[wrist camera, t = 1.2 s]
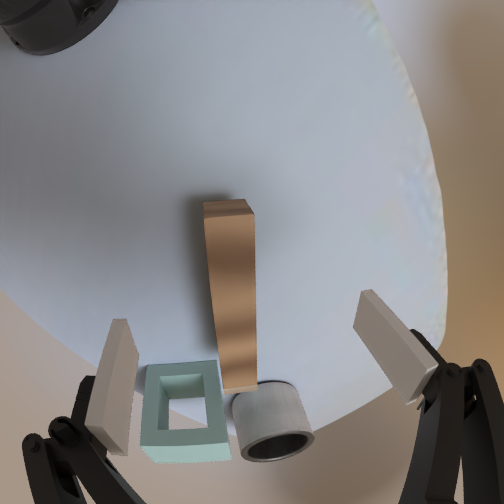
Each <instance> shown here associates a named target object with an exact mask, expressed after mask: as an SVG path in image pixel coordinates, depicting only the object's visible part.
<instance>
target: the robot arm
mask: <svg viewBox="0 0 504 504" xmlns="http://www.w3.org/2000/svg"><path fill="white" fill-rule="evenodd" d="M117 2H118V0H0V25H1V26H2V28H3V29H4V31H5V32H6V33H7V35H8V36H9V37H10V38H11V40H12V42H13V43H14V45H15V46H16V47H18V48H19V49H21V50H23V51H26V52H29V53H32V54H36V55H46V54H52V53H55V52H58V51H61V50H63V49H65V48H68V47H69V46H71V45H73V44H75V43H77V42H78V41H80V40H81V39H83V38H84V37H85V36H87V35H88V34H89V33H90V32H92V31H93V30H94V29H95V28H96V27H97V26H98V25H99V24H100V23H101V22H102V21H103V20H104V19H105V18H106V17H107V16H108V15H109V13H110V12H111V11H112V9H113V8H114V7H115V5H116V3H117ZM353 328H354V329H355V331H356V332H357V334H358V335H359V337H360V338H361V339H362V341H363V342H364V344H365V345H366V347H367V348H368V349H369V351H370V352H371V354H372V355H373V357H374V358H375V360H376V361H377V363H378V364H379V365H380V367H381V368H382V370H383V371H384V373H385V374H386V376H387V377H388V379H389V380H390V382H391V383H392V385H393V386H394V388H395V389H396V391H397V392H398V394H399V395H400V397H401V398H402V400H403V401H404V403H405V404H406V405H407V404H410V403H412V402H414V401H416V400H417V399H418V398H419V396H420V395H421V393H422V394H423V395H424V398H423V400H422V401H421V403H420V404H419V406H418V407H417V410H419V408H420V407H421V406H422V407H421V414H420V420H419V426H418V431H417V437H416V441H415V446H414V451H413V455H412V459H411V463H410V467H409V471H408V474H407V478H406V482H405V485H404V488H403V491H402V494H401V497H400V500H399V503H398V504H458V503H457V502H456V501H454V494H455V489H456V484H457V478H458V472H459V466H460V458H461V459H462V469H463V487H464V504H504V403H503V400H502V397H501V394H500V391H499V388H498V385H497V382H496V379H495V377H494V374H493V371H492V368H491V366H490V364H489V363H488V362H487V361H485V360H483V359H476V360H475V361H474V362H473V363H472V365H471V366H470V367H463V368H461V367H460V366H458V365H457V364H455V363H447V362H446V361H445V360H444V359H443V358H442V357H441V356H440V354H439V353H438V352H437V351H436V350H435V349H434V348H433V346H431V344H430V343H429V342H428V341H427V340H426V338H425V337H424V336H423V335H422V334H421V333H419V332H418V331H416V330H415V329H411V330H409V329H408V328H407V327H406V326H405V325H404V323H403V322H402V321H401V320H400V319H399V318H398V317H397V316H396V315H395V313H394V312H393V311H392V310H391V309H390V308H389V307H388V306H387V305H386V304H385V303H384V302H383V300H382V299H381V298H380V297H379V296H378V295H377V294H376V293H375V292H374V291H373V290H372V289H370V290H364V291H361V294H360V299H359V304H358V308H357V312H356V317H355V321H354V325H353ZM138 359H139V354H138V351H137V348H136V346H135V343H134V340H133V337H132V334H131V332H130V329H129V326H128V323H127V320H126V319H113V321H112V324H111V327H110V330H109V333H108V336H107V340H106V343H105V346H104V349H103V353H102V356H101V360H100V363H99V367H98V370H97V374H96V376H86V377H85V378H84V379H83V380H82V382H81V383H80V386H79V389H78V394H77V396H76V401H75V404H74V408H73V411H72V415H71V419H70V418H68V417H66V416H61V417H57V418H55V419H54V420H53V421H51V423H50V425H49V429H48V432H49V436H50V437H51V438H46V439H43V438H42V437H41V436H40V435H38V434H36V433H34V434H32V433H31V434H29V435H27V436H26V437H25V438H24V440H23V442H22V450H23V456H24V462H25V467H26V471H27V476H28V480H29V485H30V488H31V492H32V496H33V499H34V502H35V504H87V502H86V500H85V498H84V495H83V493H82V490H81V487H80V485H79V482H78V479H77V477H78V478H79V479H80V481H81V483H82V484H83V486H84V487H85V489H86V490H87V492H88V493H89V494H90V496H91V497H92V499H93V500H94V501H95V503H96V504H146V503H145V502H144V501H143V500H142V498H141V497H140V496H139V495H138V494H137V493H136V492H135V491H134V490H133V489H132V487H131V486H130V485H129V484H128V483H127V482H126V480H125V479H124V478H123V477H122V476H121V474H120V473H119V472H118V471H117V469H116V468H115V467H114V466H113V464H112V463H111V462H110V460H109V459H108V458H107V457H106V454H107V450H108V451H109V452H110V453H111V454H112V455H119V456H128V442H129V429H130V420H131V410H132V402H133V394H134V386H135V379H136V372H137V365H138ZM474 396H476V400H475V398H474ZM76 475H77V477H76Z"/></svg>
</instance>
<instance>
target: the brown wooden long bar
mask: <svg viewBox="0 0 504 504" xmlns="http://www.w3.org/2000/svg"><path fill="white" fill-rule="evenodd" d="M203 218H204V230H205V241H206V251H207V261H208V271H209V280H210V289H211V298H212V306H213V314H214V322H215V330H216V338H217V345H218V352H219V359H220V367H221V374H222V381H223V388H224V394H225V395H226V394H234V393H242V392H249V391H256V390H258V384H257V339H256V278H255V223H254V213H253V211H252V210H251V208H250V207H249V205H248V203H247V202H246V200H245V199H235V200H222V201H210V202H203Z"/></svg>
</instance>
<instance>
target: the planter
mask: <svg viewBox="0 0 504 504" xmlns="http://www.w3.org/2000/svg"><path fill="white" fill-rule="evenodd" d="M232 413H233V419H234V423H235V428H236V433H237V438H238V442H239V448H240V453H241V456H242V457H243V458H244V459H245V460H248V461H252V462H272V461H277V460H281V459H285V458H288V457H291V456H294V455H296V454H298V453H300V452H302V451H304V450H305V449H307V448H308V447H309V446H310V445H311V444H312V443H313V441H314V435H313V432H312V429H311V427H310V424H309V421H308V419H307V416H306V413H305V410H304V408H303V405H302V402H301V399H300V397H299V394H298V392H297V390H296V389H295V388H294V387H293V386H292V385H289V384H286V383H281V382H268V383H262V384H258V390H256V391H249V392H242V393H240V394H239V395H237V396H236V398H235V399H234V400H233V402H232Z"/></svg>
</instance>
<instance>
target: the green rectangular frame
mask: <svg viewBox="0 0 504 504" xmlns="http://www.w3.org/2000/svg"><path fill="white" fill-rule="evenodd" d="M195 397H205V404H206V414H207V424H208V428H197V429H179V430H169V425H168V424H169V422H168V420H169V413H168V412H169V399H180V398H195ZM140 437H141V438H140V446H141V448H142V449H143V450H144V451H145V453H146V454H147V455H148V456H149V458H150V459H151V460H152V461H153V462H154V463H191V462H208V461H220V460H229V459H232V455H231V451H230V445H229V439H228V432H227V426H226V419H225V413H224V406H223V400H222V393H221V386H220V379H219V373H218V367H217V361H216V360H211V361H201V362H189V363H176V364H159V365H147V370H146V379H145V388H144V398H143V409H142V421H141V436H140Z"/></svg>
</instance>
